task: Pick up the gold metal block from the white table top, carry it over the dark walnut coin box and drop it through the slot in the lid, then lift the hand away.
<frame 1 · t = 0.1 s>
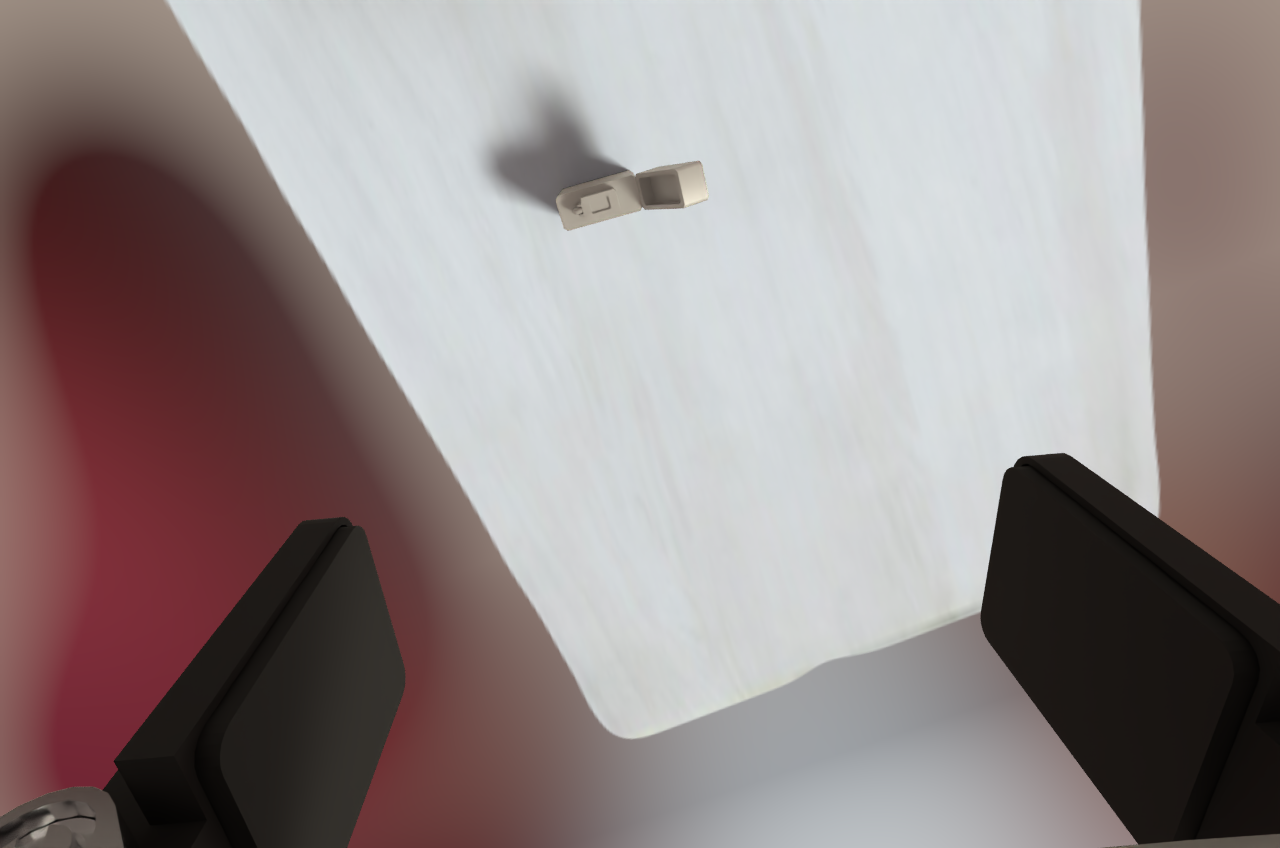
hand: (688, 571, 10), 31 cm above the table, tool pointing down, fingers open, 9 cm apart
lighter: (625, 187, 37), on the table
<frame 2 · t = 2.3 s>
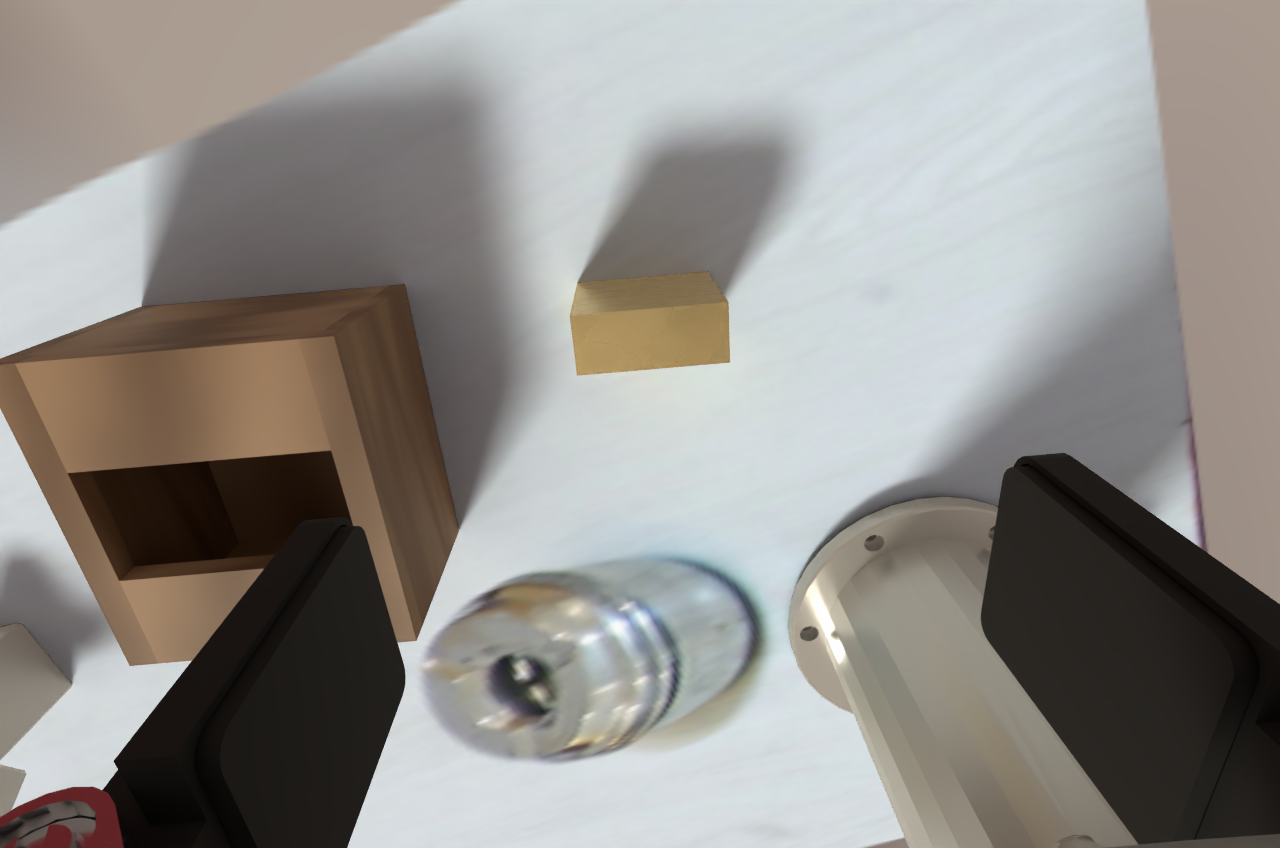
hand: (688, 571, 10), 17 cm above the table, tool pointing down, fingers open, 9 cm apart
lighter: (53, 678, 32), on the table
gold metal block: (644, 302, 26), on the table
coin box: (312, 428, 27), on the table
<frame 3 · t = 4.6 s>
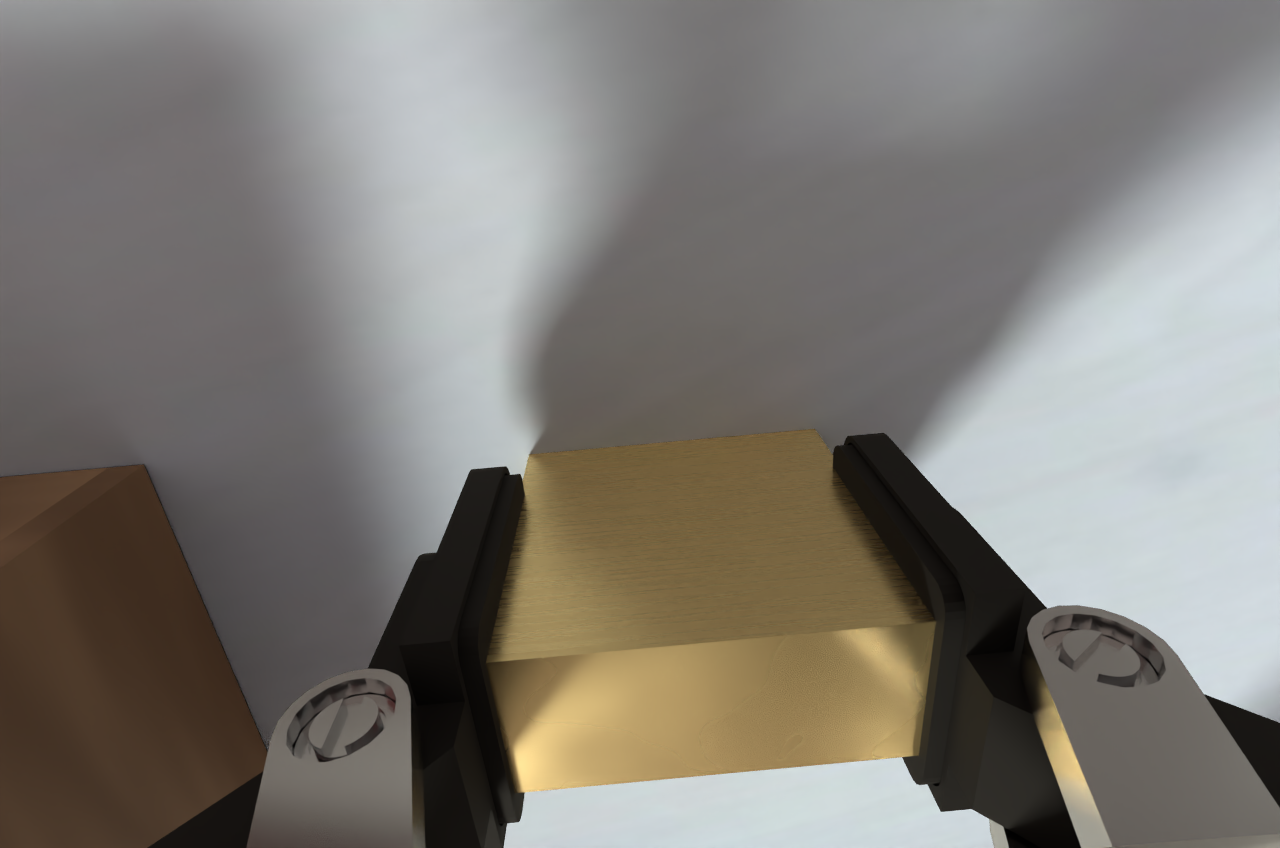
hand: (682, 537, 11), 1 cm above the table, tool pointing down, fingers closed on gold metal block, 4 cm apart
gold metal block: (675, 491, 12), on the table, touching gripper
coin box: (0, 726, 14), on the table
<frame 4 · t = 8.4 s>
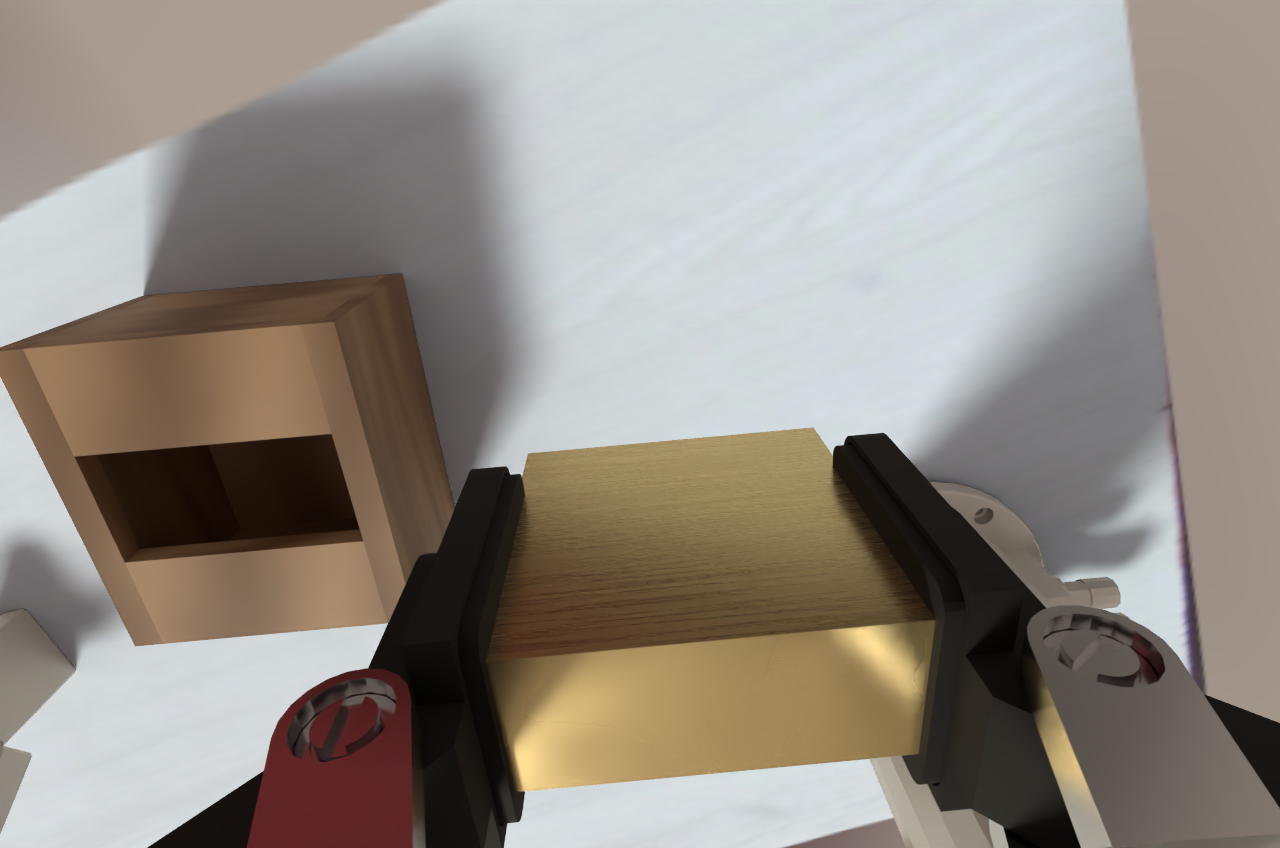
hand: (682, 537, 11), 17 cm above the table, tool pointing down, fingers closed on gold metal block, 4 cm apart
lighter: (57, 664, 33), on the table
gold metal block: (674, 490, 12), point 16 cm above the table, touching gripper
coin box: (312, 415, 28), on the table
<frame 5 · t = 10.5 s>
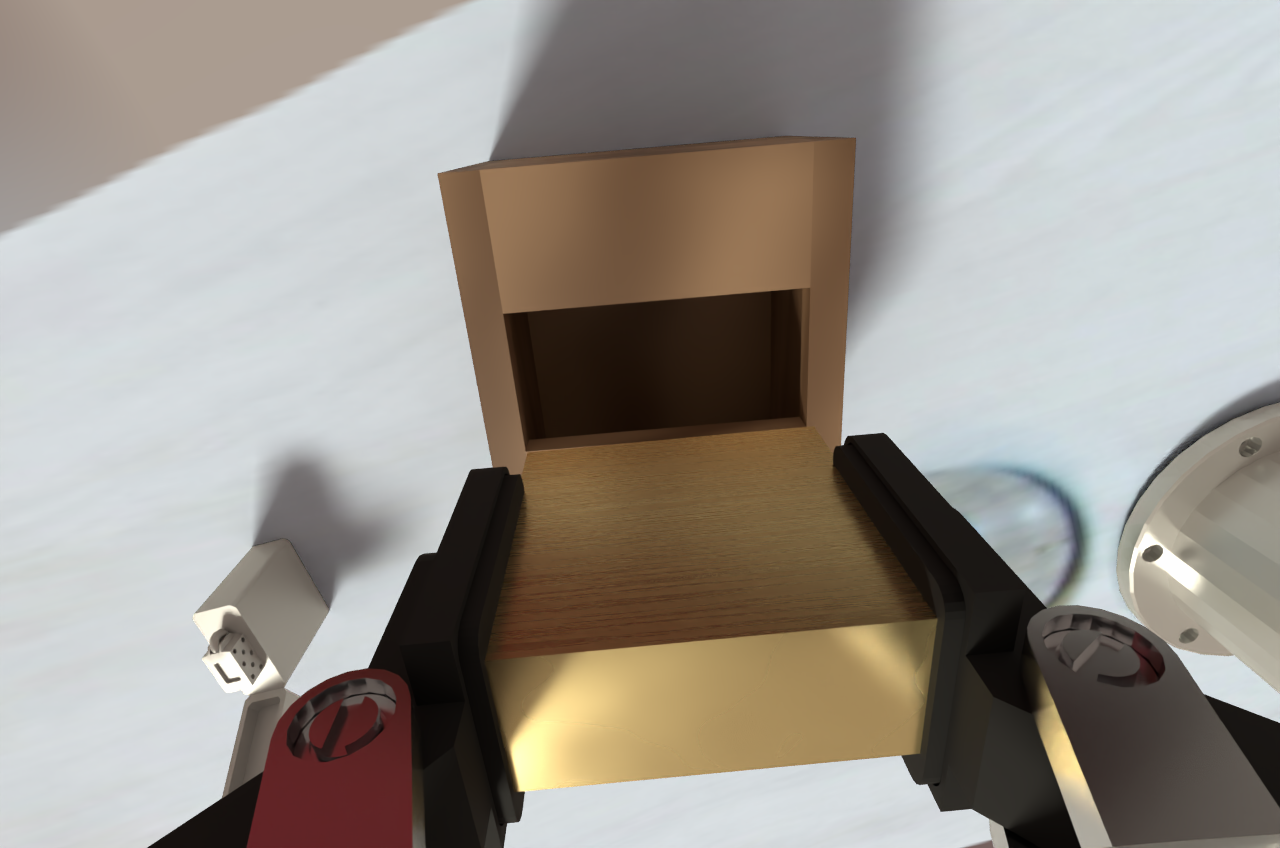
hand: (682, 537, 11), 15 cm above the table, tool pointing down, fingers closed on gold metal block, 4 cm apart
lighter: (309, 604, 30), on the table
gold metal block: (674, 489, 12), point 14 cm above the table, touching gripper
coin box: (649, 309, 24), on the table
when the fingers open (8 cm above the table, at t = 12.3 s): gold metal block drops 7 cm, resting on coin box.
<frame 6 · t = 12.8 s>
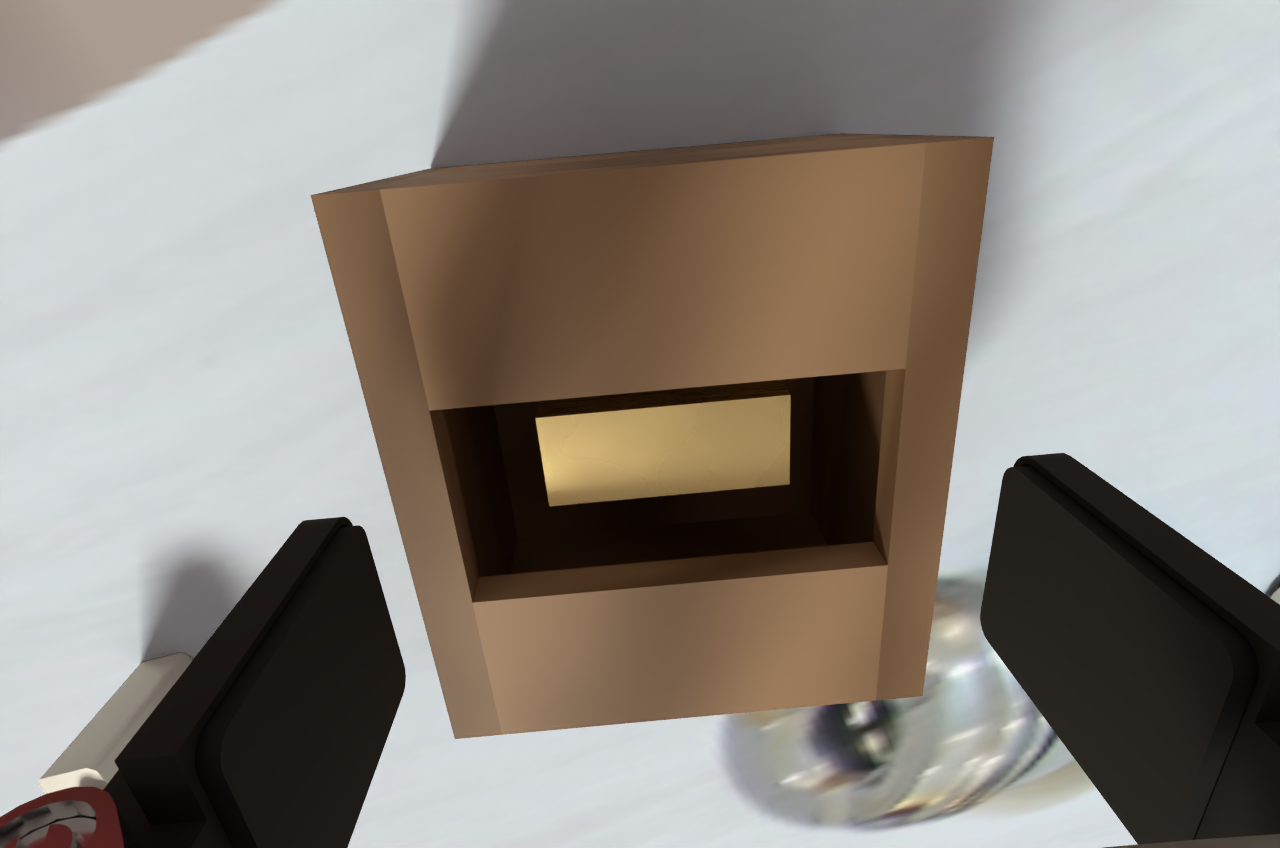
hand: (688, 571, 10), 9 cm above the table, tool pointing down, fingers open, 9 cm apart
lighter: (220, 727, 23), on the table
gold metal block: (651, 370, 18), resting on coin box
coin box: (651, 366, 18), on the table
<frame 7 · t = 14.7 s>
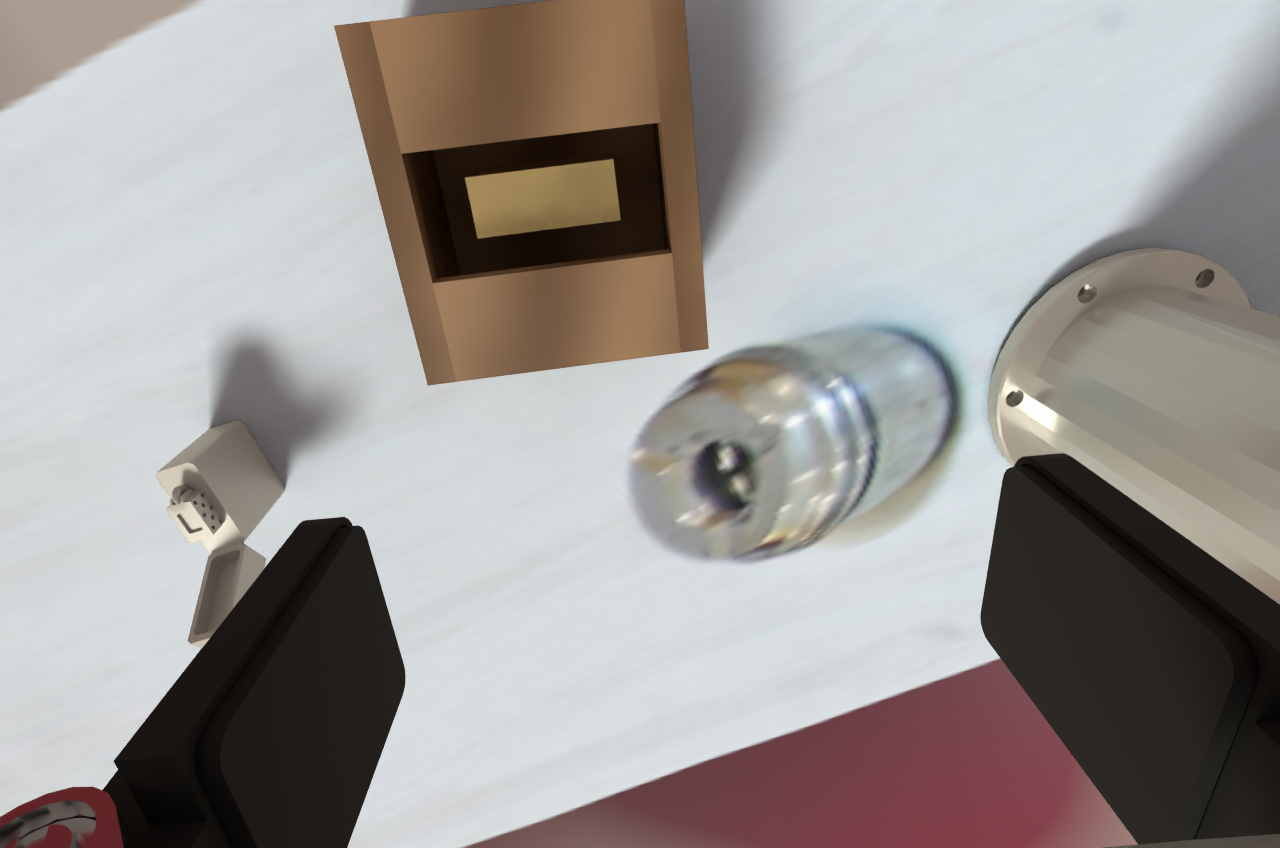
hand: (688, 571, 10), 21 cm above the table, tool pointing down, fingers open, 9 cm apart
lighter: (266, 484, 32), on the table
gold metal block: (550, 186, 27), resting on coin box
coin box: (551, 186, 28), on the table
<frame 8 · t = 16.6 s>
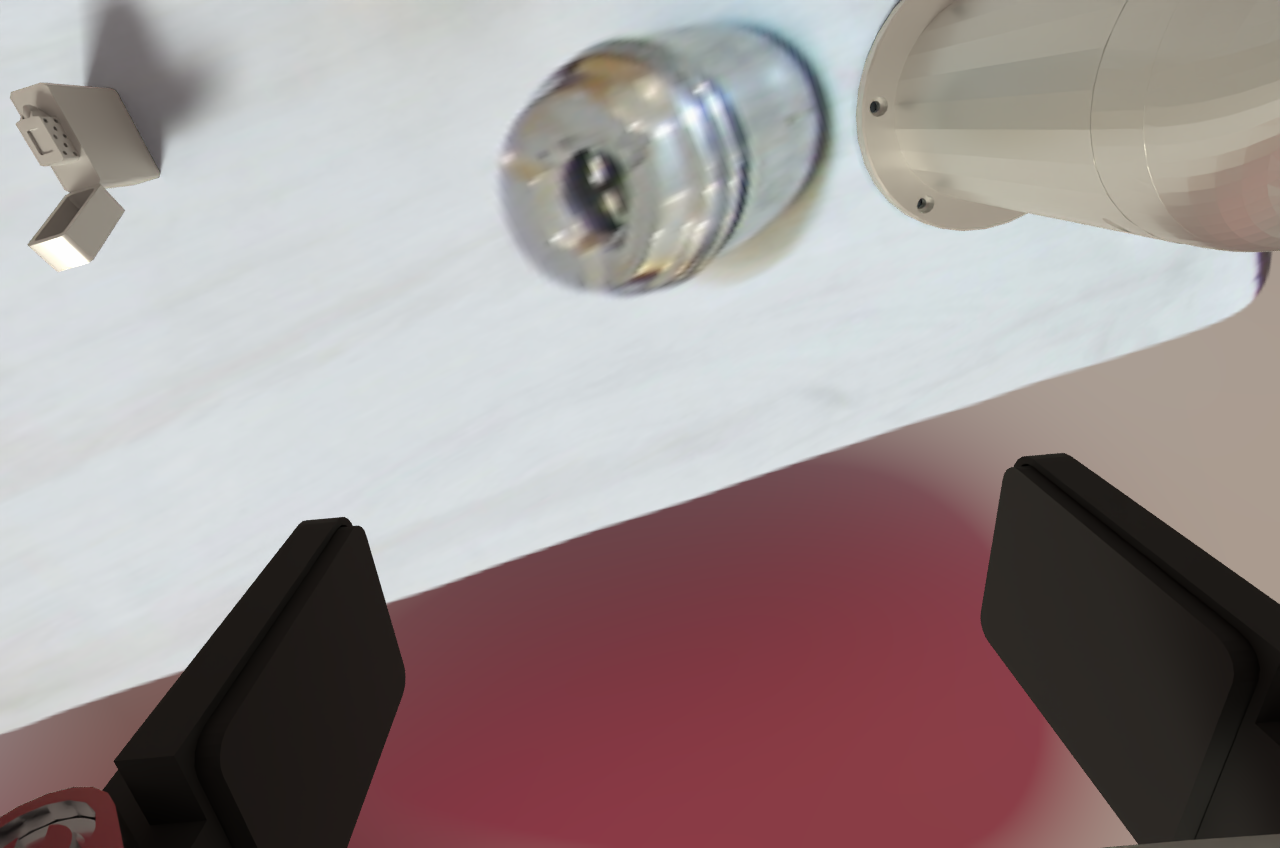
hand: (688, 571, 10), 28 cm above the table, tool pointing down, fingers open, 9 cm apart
lighter: (142, 169, 33), on the table
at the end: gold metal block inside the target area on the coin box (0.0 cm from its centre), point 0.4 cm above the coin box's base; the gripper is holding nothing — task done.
